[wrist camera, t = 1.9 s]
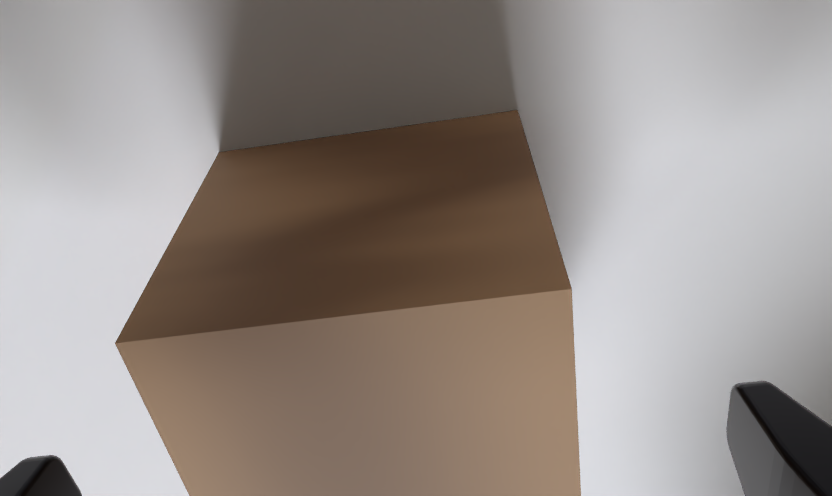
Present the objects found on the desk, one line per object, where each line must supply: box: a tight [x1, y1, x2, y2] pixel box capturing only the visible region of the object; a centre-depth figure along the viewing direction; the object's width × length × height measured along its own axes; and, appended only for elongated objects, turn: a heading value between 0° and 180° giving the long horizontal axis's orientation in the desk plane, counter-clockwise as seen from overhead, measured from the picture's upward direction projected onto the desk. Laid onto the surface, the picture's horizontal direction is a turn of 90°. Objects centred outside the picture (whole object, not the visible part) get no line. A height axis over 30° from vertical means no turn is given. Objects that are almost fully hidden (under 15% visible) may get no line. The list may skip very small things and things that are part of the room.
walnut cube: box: [115, 110, 581, 496], centre depth 11 cm, size 5×5×5 cm
